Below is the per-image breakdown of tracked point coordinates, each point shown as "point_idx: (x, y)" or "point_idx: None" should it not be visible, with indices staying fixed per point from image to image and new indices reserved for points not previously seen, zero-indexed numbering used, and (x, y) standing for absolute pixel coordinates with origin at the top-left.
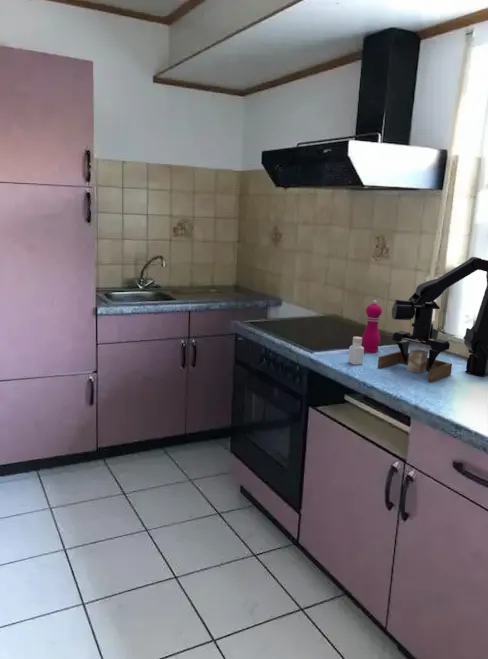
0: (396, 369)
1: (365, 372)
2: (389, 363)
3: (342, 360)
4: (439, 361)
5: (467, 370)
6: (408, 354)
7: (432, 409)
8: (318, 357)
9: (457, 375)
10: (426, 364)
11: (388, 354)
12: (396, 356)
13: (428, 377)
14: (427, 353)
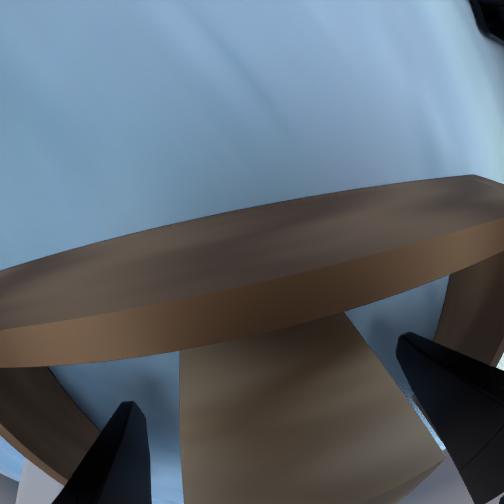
0: (175, 432)
1: (176, 500)
2: (84, 429)
3: (19, 463)
4: (492, 252)
5: (483, 5)
6: (14, 358)
7: (444, 446)
8: (3, 470)
9: (492, 139)
10: (348, 319)
11: (65, 484)
12: (15, 399)
13: (423, 414)
14: (425, 442)
